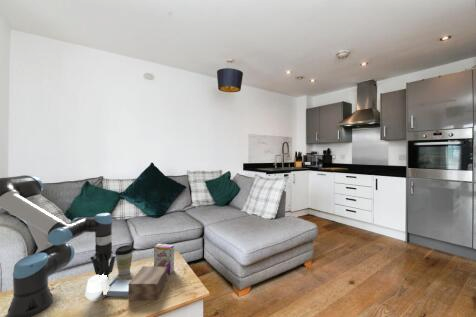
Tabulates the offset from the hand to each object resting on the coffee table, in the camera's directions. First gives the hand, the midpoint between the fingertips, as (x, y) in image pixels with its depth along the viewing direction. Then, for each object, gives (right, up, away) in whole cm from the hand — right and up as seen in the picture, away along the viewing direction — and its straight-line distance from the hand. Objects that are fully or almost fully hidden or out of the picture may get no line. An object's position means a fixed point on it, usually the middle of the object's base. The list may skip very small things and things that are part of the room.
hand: (104, 286), depth 113 cm
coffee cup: (+2, -2, +17) cm, 17 cm away
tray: (+9, -2, 0) cm, 9 cm away
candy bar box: (+26, -2, +19) cm, 32 cm away
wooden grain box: (+24, -2, +1) cm, 24 cm away
